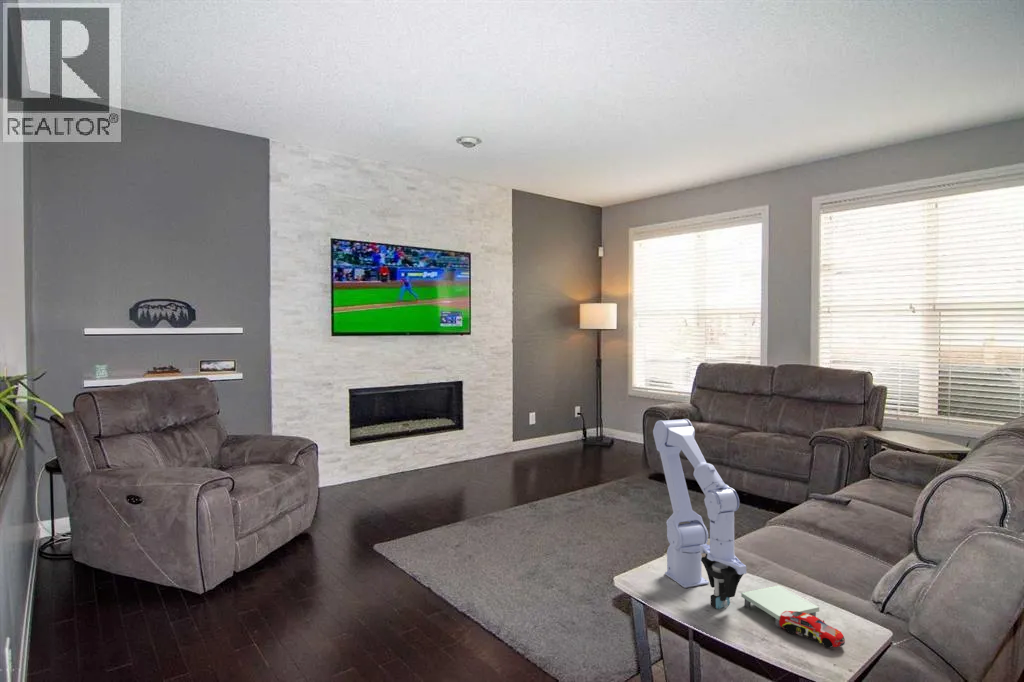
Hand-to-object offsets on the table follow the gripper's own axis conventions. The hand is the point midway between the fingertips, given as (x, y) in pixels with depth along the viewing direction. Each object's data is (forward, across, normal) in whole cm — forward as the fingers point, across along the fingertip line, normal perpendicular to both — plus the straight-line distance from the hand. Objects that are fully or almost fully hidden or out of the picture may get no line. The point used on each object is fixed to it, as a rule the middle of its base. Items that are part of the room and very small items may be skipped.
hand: (722, 591), depth 135 cm
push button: (+4, 0, 0) cm, 4 cm away
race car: (+3, +18, +8) cm, 21 cm away
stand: (+3, +8, +10) cm, 13 cm away
